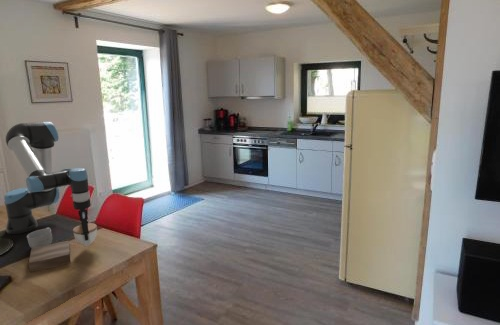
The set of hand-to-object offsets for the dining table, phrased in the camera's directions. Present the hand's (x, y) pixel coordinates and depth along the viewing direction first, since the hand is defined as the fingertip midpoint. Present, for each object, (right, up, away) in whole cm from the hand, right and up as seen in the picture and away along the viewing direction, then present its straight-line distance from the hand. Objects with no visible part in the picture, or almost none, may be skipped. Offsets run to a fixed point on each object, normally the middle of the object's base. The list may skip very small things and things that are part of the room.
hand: (86, 240), depth 162 cm
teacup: (-26, -4, +7) cm, 27 cm away
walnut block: (-13, -8, -7) cm, 17 cm away
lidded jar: (0, -1, 0) cm, 1 cm away
